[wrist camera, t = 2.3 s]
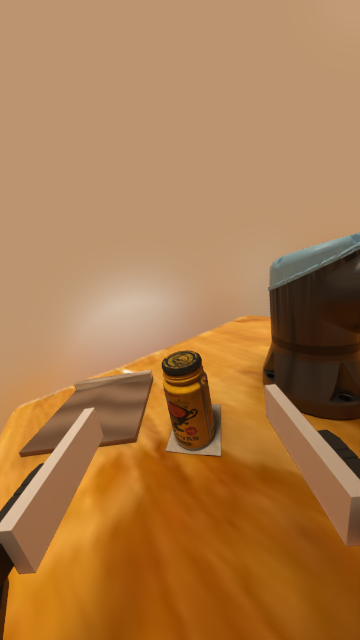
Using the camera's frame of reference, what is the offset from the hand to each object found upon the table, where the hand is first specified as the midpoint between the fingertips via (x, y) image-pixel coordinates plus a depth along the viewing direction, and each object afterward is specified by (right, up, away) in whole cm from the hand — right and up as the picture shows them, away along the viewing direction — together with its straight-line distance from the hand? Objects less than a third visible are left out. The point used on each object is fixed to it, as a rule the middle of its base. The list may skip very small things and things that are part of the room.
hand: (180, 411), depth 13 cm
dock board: (-15, -10, +20) cm, 27 cm away
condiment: (+2, -9, +13) cm, 16 cm away
